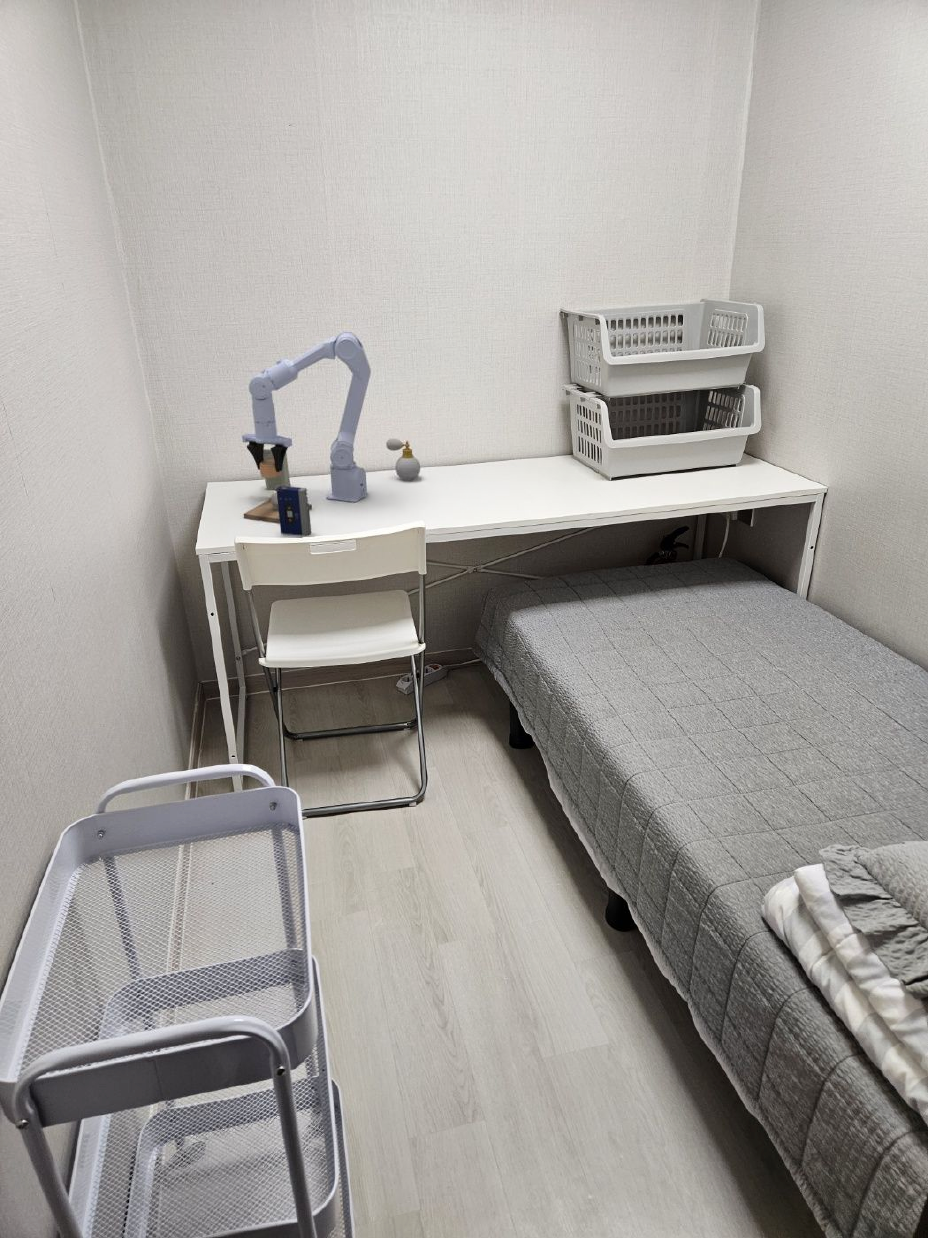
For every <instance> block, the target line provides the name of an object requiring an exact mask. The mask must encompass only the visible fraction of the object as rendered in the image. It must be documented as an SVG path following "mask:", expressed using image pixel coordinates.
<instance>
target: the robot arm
mask: <svg viewBox="0 0 928 1238" xmlns="http://www.w3.org/2000/svg"><path fill="white" fill-rule="evenodd" d="M336 357H337V358H338V359H339V360H340V361H341V362H343V363H344V364H345V365H346V366H347V368H348V369H349V371H350V372H351V373H352V376H351V379H350V384H349V387H348V393H347V396H346V400H345V404H344V409H343V413H342V417H341V420H340V426H339V430H338V433H337V436H336V439H335V440H334V441H333V442H332V444H331V447H330V450H331V451H330V455H329V459H330V464H329V470H330V483H331V484H330V485H331V493H330V494H328V495H327V496H326V497H325V498H326V499H329V500H335V501H344V502H351V503H357V502H358V501H360V500H361V499H363V498H364V497H366V496H368V495H369V492H368V487H367V473H366V470H365V469H364V468H362V467H360V466H358V465H357V462H356V461H355V460H354V459H355V458H354V451H355V447H354V443H355V437H356V433H357V429H358V427H359V422H360V418H361V414H362V408H363V406H364V402H365V398H366V393H367V389H368V386H369V381H370V378H371V374H372V373H371V372H372V370H371V366H370V365H371V364H370V363H369V360H368V357H367V354H366V352H365V349H364V345H363V343H362V342H361V341H360V339H359V338H358V336H356V334H354V333H353V332H350V331H343V332H340V333H339V334H338V335H337V336H336V335H334V336H332V337H330V338H328V339H326V340H323V341H322V342H320V343H318V344H317V345H315V346H314V347H312V348H310V349H309V350H307V351H306V352H304V353H302V354H301V355H299V356H298V357H296V358H294V359H293V360H290V359H286V358H285V359H280V358H279V359H278V360H276V361H275V363H276V364H274V365H272V366H271V367H269V368H267V369H266V370H265V369H262V370H260V373H258V374H255V375H254V376H252V378H251V380H250V381H249V385H248V391H249V394H250V395H251V402H252V404H251V407H252V417H253V425H254V433H244V434H242V435H241V439H242V440H241V441H242V443H248V444H247V445H246V448H247V450H248V451H249V453H250V454H251V456H252V458H253V459H254V460H253V461H254V462H255V464H256V468H257V470H259V471H260V466H259V464H260V462H261V461H264V456H263V452H264V446H265V445H275V446H274V447H272V448H271V451H272V454H273V457H274V462H275V469H276V472H280V471H282V467H283V461H284V457H285V454H287V451H288V449H289V448H290V447H293V440H292V438H289V437H284V436H281V435H278V430H277V422H276V411H275V404H274V403H275V402H274V399H273V393H272V392H273V391H278V390H280V389H281V388H284V387H286V386H287V385H288V384H291V383H292V382H294V381H295V380H297V379H298V376H299V373H300V372H302V371H303V370H305V369H307V368H309V367H310V366H312V365H314V364H316V363H318V362H320V361H322V360H323V359H327V360H328V359H329V360H336Z"/></svg>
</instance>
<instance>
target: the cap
mask: <svg viewBox="0 0 928 1238" xmlns="http://www.w3.org/2000/svg"><path fill="white" fill-rule="evenodd" d="M259 466H260V470H259V474H260V476H261V478H265V477H266V478H272V477H277V476H279V475H281V471H280V472H276V469H275V462H274V460H265V461H261V462H260V464H259Z"/></svg>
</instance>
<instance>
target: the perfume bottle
mask: <svg viewBox="0 0 928 1238" xmlns="http://www.w3.org/2000/svg"><path fill="white" fill-rule="evenodd" d="M385 444H386V448H387V449H388V450H389V451H395V452H396V451H399V450H401V449H402V456H400V457H399V458H398V459H397V460H396V463H395V472H396V475H397V476H398V477H399V478H400V479H402V480H404V479H405V481H411V479H412V480H414V479H416V478H417V477H418V476H419V474H420V473H421V464H420V461H419V460H418V458H417V457H415V456H414V454H413V449H412V448H409V447H410V446H411V445H410V443H409V440H406V441H405V443H403V441H401V440H400V439H398V438H389V439H388V440H387V441H386V443H385ZM404 447H405V448H404Z"/></svg>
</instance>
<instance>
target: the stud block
mask: <svg viewBox="0 0 928 1238" xmlns="http://www.w3.org/2000/svg"><path fill="white" fill-rule="evenodd" d="M311 510H313V506H312V503H311V504H310V503H309V511H311ZM243 519H247V520H253V521H260V520H262V521H261V522H269V523H274V524H275V523H276V524H280V519H279V510H278V500H277V492H274V493H271V494H270V498H269V499H268V500H266V501H264V502H263V503H261V504H259V505H257V506H255V507H253V508H251V509H250V510H248V511H246V512H244V513H243Z"/></svg>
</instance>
